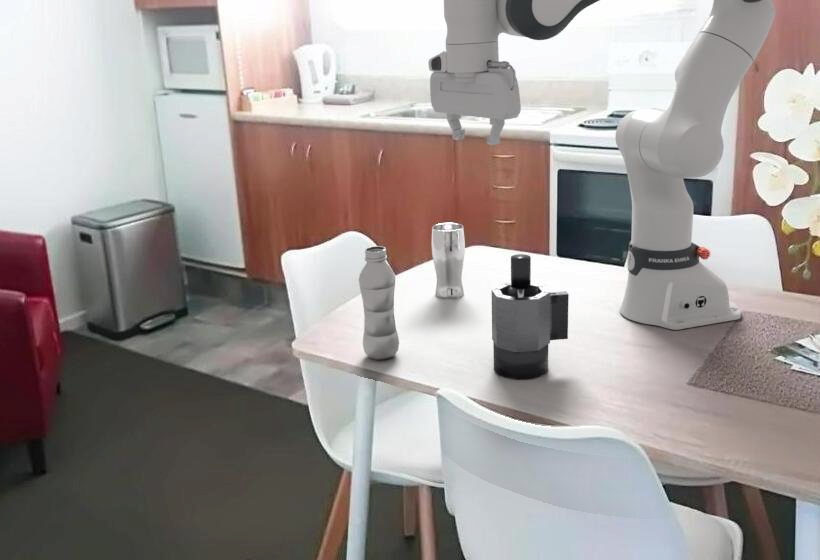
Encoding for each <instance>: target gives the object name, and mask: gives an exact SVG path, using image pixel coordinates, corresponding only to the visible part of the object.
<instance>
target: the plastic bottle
mask: <svg viewBox="0 0 820 560" xmlns="http://www.w3.org/2000/svg"><path fill="white" fill-rule="evenodd" d="M364 254H365V256H364V261H365V262H366V263H365V265H364V266H363V268H362V269H361V271H360V273H359V276H358V285H359V290H360V294H361V298H362V306H363V307H362V308H363V315H364V319H363V322H364V323H363V324H364V325H363V327H364V329H363V331H364V332H363V336H362V347H363V350H364V351H363V352H364V353H365V355H366V356H367V357H368V358H370V359H373V360H386V359H390V358H393V357H394V356H396V354H397V353H398V351H399V346H400V339H399V334H398V331H397V327H396V320H395V319H396V318H395V308H394V307H395V289H396V275H395V273H394V270H393V269H392V268H391V266H390V265H389V263H387V259H388V256H387V248H386V247H385V246H381V245H376V246H368V247H367V248H365V249H364Z"/></svg>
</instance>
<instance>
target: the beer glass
mask: <svg viewBox="0 0 820 560" xmlns="http://www.w3.org/2000/svg"><path fill="white" fill-rule="evenodd" d="M465 240H466V239H465V232H464V225H463V224H461V223H458V222H457V223H456V222H442V223H441V222H440V223H438V224H434V225H433V226H431V254H432V260H433V265H434V270H435V274H436V287H435V296H436V297H437V298H439V299H441V300H442V299H443V300H454V299H460V298H462V297H463V296H464V294H465V291H464V287H463V280H462V277H463V275H462V274H463V269H464V261H465V254H466V253H465V252H466V242H465Z"/></svg>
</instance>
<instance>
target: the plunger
mask: <svg viewBox="0 0 820 560" xmlns="http://www.w3.org/2000/svg"><path fill="white" fill-rule="evenodd" d="M531 259H532V258H531V256H530V255H528V254H523V253H522V254H519V253H518V254H514V255H511V256H510V282H511V287H512V288H514V289H518V298H522V297H524V289H527V288H530V286H531V283H532V281H531V275H532V274H531V272H532V271H531V269H532V268H531V266H532V265H531V263H532V262H531V261H532V260H531Z"/></svg>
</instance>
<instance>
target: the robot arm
mask: <svg viewBox="0 0 820 560" xmlns="http://www.w3.org/2000/svg"><path fill="white" fill-rule="evenodd" d="M599 1H600V0H443V16H444V21H445V24H446V37H445V50H443V51H442V52H440V53H438V54H436V55H435V56H432V57H431V58H429V60H428V70H429V71H430V72H431V75H430V77H429V94H430V104H431V107H432V109H433V110H434V112H435V113H440V114H446V120H447V122H448V125H449V127H450V129H451V134H452V135H451V136H452V137H451V138H452V139H453V140H455V141H457V140H458V141H460V140H464V139H465V137H466V134H465V133H466V128H463V127H462V124H461V122H460V119H462V116H465V117H466V116H468V117H475V118H484V119H489V125H491V128H490V132H489V133H487V134H486V144H487V145H490V146H496V145H500V143H501V134H502V131H503V129H504V126H505V122H506V121H505V120H511V119H517V118H518V117H519V116H520V113H521V111H522V110H521V109H522V108H521V96H520V89H519V88H520V87H519V81H518V78H517V76H516V75H517V73H516V69H515V68H514V67H513V65H511V64H510V62H508V61H506V60H502V61H499V60H500V59H499V35H500V34H502V33H503V34H506V35H509V36H514V37H515V36H516V37H520V38H522V37H524V38H527V39H530V40H534V41H545V40H549V39H552V38H554V37H556V36H557V35H559V34H560V33H562V32H563V31H564V30H565V29H566V28H567V26H569V24H570V23H571V22H572V21H573V19H575V18H576V16H577V15H579V14H580V13H581V12H582V11H583V10H585V9H587V8H588V7H589V6H591V5H593V4H595V3H597V2H599ZM775 17H776V7H775V5H774V3H773V1H772V0H713V3H712V7H711V10H710V13H709V17H708V18H707V20H706V21H705V22H704V24H703V25H702V27H701V28H700V29H699V31H698V33H697V34H696V36H695V38H694V39H693V40H692V43H691V44H690V45H689V47H688V48H687V50H686V52H685V53H684V55H683V57H682V59H680V61H679V64H678V65H677V67H676V68H675V70H674V71H675V72H674V80H675V82H676V85H675V89H674V90H675V91H674V94H673V97H672V100H671V103H670V105H669V106H668V108H667V109H661V108H656V107H648V108H640V109H637V110H631V111H630V112H628V113H627V114H625V115H624V116H623V117H622V118H621V120H620V121H619V123H618V124H617V127H616V130H615V135H614V136H615V144H616V147H617V149H618V150H619V152H620V154H621V156H622V159H623V162H624V164H625V165H624V166H625V170H626V175H627V179H628V185H629V191H630V196H631V198H630V199H631V240H630V241H628V252H627V270H628V274H627V275H628V276H627V282H626V287H625V292H624V296H623V299H622V302H621V304H620V308H619V312H620V314H621V315H622V316H623V317H625V318H626V319H627V320H630V321H633V322H637V323H640V324H645V325H652V326H659V327H662V328H664V329H669V330H672V331H673V330H674V331H676V330H677V331H678V330H684V329H689V328H695V327H696V328H697V327H701V326H706V325H712V324H717V323H724V322H730V321H736V320H740V319H741V317H742V314H741V309H740V307H739V306H738V305H737V304H736V303H735V302H733V301H732V300H730V295H729V294H730V293H729V290H728V286H727V283H726V282H725V280H723V278H722V277H720V276H719V275H718V274H717V273H715V272H714V271H712V269H710V268H709V267H708V266H706V265H705V264H704V263H702V262H701V261H700V258H701V260H708V259H709V257H711V251H710V250H709V249H708V248H706V247H704V246H700V245H698V244H696V243H694V242H692V239H693V238H692V237H693V222H694V208H695V207H694V203H693V200H692V197H691V196H690V194H689V191H688V190H687V188H686V187H687V186H686V184H685V180H684V179H696V178H702V177H705V176H708V174H710V173H711V172H713V171H714V170H715V169H716V168H717V166H718V165H719V164H720V161H721V160H722V157H723V154H724V147H725V146H724V139H723V136H722V128H723V127H722V126H723V122H724V119H725V114H726V111H727V109H728V107H729V105H730V102H731V100H732V98H733V96H734V94H735V92H736V90H737V89H738V87H739V85H740V84H741V82H742V81H743V79H744V77H745V75H746V74H747V72H748V71H749V69H750V67H751V66H752V65H753V62H754V61H755V60H756V58H757V56H758V54H759V53H760V51H761V48H762V47H763V45H764V43H765V41H766V39H767V37H768V34H769V32H770V30H771V27H772V25H773V23H774V19H775Z"/></svg>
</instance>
